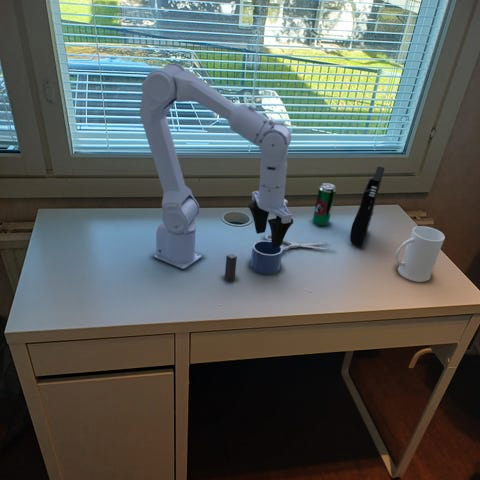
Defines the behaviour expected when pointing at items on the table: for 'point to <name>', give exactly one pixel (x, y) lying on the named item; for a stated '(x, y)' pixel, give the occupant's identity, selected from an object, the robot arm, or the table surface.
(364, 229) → the black tapered piece
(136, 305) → the table surface
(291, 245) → the scissors
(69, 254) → the table surface
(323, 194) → the soda can
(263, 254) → the cup
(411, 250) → the mug
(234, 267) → the dark brown square post
